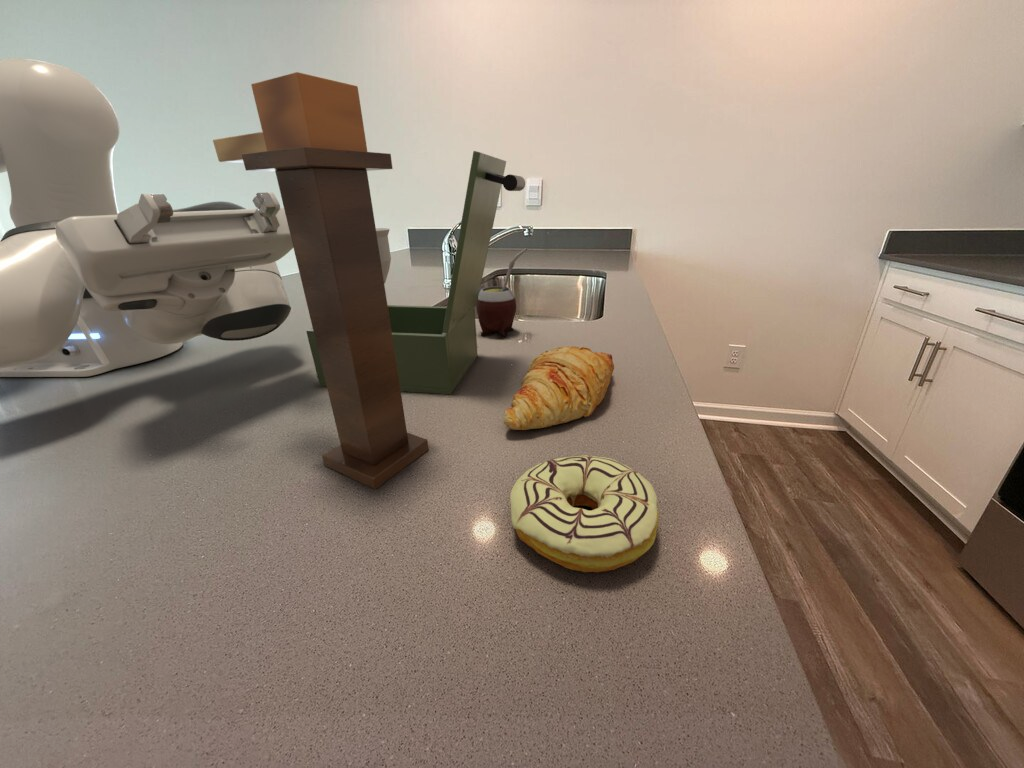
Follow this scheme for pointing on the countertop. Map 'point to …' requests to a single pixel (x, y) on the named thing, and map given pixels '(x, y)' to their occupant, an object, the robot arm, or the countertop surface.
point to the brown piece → (300, 117)
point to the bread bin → (424, 348)
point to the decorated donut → (585, 512)
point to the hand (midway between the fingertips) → (219, 200)
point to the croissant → (560, 388)
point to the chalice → (384, 250)
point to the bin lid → (476, 233)
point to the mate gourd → (497, 307)
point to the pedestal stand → (346, 303)
